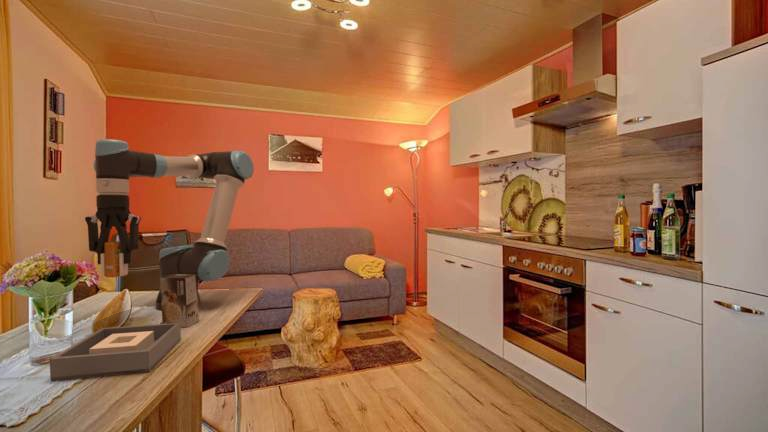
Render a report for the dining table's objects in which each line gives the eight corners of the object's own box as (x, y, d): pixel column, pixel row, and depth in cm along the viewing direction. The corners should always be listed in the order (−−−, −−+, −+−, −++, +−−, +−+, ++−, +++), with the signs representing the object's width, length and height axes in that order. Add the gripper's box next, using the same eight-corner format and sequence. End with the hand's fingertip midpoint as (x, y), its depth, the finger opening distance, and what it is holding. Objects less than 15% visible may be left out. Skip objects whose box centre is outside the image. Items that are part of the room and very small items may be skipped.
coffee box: (200, 320, 119) (198, 273, 118) (187, 327, 112) (186, 277, 112) (174, 320, 120) (173, 273, 119) (160, 326, 113) (159, 277, 113)
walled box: (102, 345, 98) (102, 328, 98) (180, 339, 102) (180, 322, 102) (50, 381, 79) (49, 359, 79) (149, 372, 83) (148, 351, 83)
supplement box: (114, 277, 100) (112, 242, 99) (105, 277, 100) (102, 242, 100) (125, 275, 103) (123, 241, 103) (116, 275, 104) (114, 241, 103)
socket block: (112, 348, 95) (112, 333, 94) (154, 345, 97) (153, 330, 96) (89, 365, 85) (89, 349, 85) (136, 361, 87) (135, 345, 87)
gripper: (69, 193, 96) (71, 279, 96) (139, 193, 99) (140, 276, 99) (88, 194, 103) (89, 273, 104) (152, 194, 106) (153, 272, 107)
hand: (114, 275), depth 101 cm, fingers closed on supplement box, 4 cm apart
